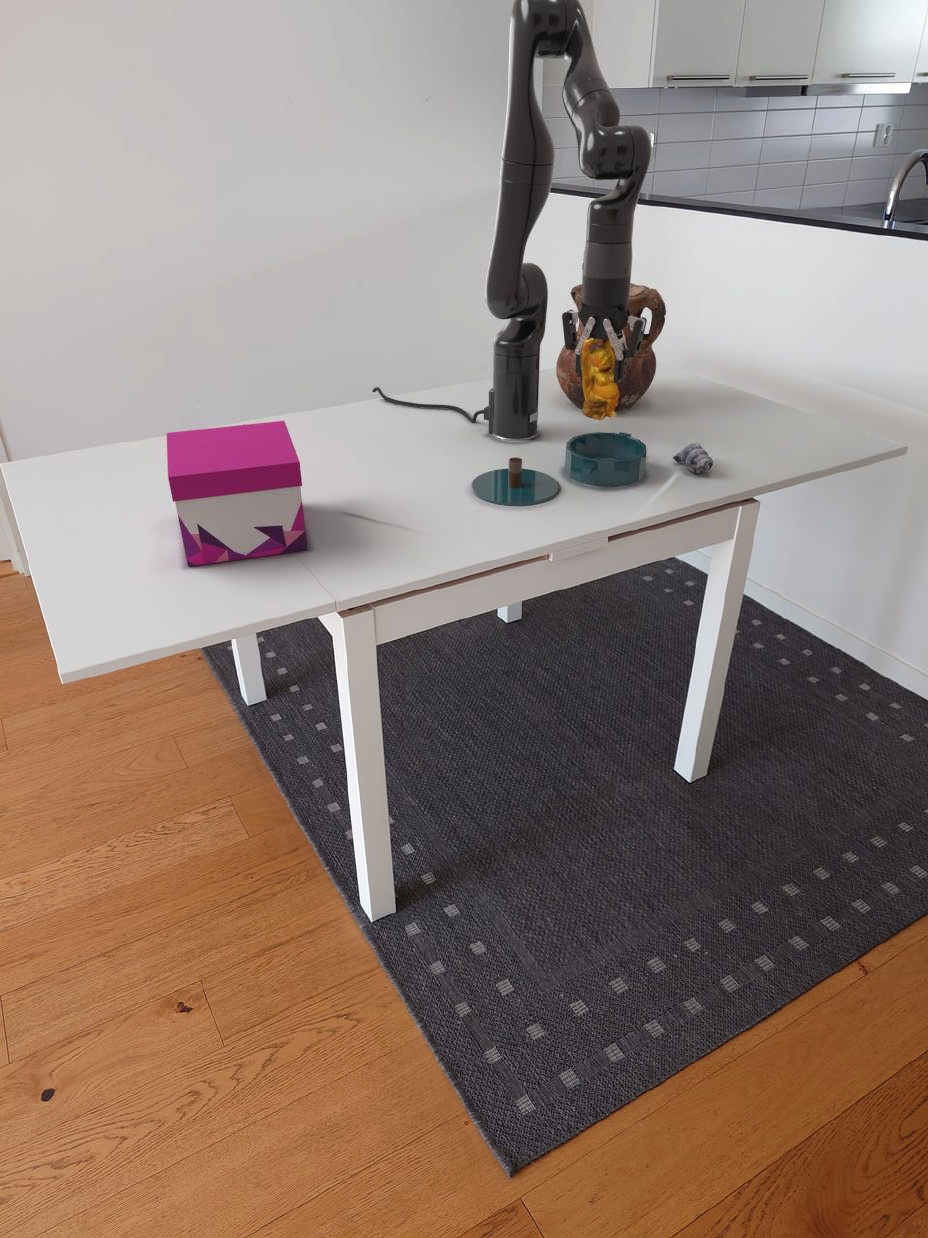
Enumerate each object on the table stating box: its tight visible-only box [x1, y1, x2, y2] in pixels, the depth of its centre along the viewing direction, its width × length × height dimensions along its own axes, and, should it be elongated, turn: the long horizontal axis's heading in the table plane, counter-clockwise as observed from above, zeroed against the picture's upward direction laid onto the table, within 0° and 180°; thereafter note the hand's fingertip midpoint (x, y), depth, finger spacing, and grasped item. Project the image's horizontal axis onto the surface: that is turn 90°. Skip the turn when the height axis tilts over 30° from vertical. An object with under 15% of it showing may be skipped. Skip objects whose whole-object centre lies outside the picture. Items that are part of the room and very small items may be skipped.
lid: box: [471, 456, 559, 507], centre depth 158 cm, size 16×16×6 cm
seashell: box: [672, 442, 714, 474], centre depth 166 cm, size 5×5×10 cm
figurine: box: [580, 338, 620, 421], centre depth 147 cm, size 6×7×13 cm
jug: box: [555, 282, 667, 412], centre depth 194 cm, size 22×21×25 cm
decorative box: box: [166, 420, 308, 567], centre depth 142 cm, size 19×19×15 cm
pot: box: [564, 431, 648, 488], centre depth 164 cm, size 15×20×5 cm
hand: (599, 378), depth 147 cm, fingers closed on figurine, 5 cm apart
